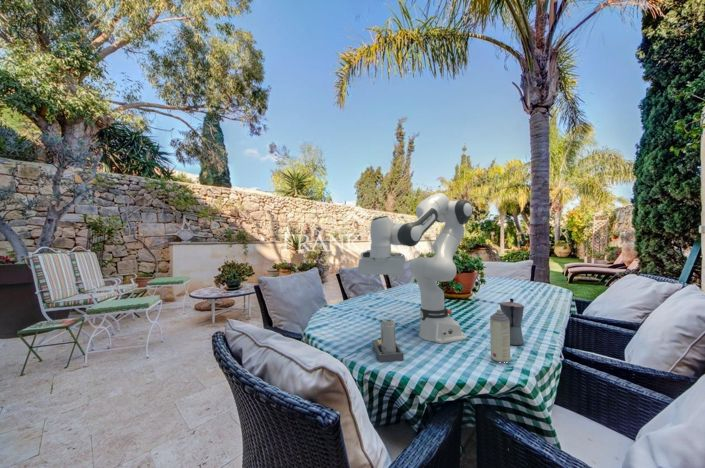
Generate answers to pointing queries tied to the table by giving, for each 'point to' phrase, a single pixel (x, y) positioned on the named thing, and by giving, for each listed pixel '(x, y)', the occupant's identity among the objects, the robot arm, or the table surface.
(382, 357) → the socket block
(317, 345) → the table surface
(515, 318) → the moka pot
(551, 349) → the table surface
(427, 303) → the robot arm
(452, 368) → the table surface
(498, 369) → the table surface
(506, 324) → the aerosol can
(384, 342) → the energy drink can
